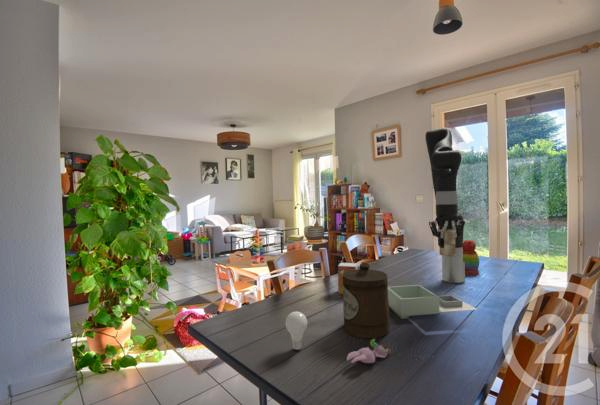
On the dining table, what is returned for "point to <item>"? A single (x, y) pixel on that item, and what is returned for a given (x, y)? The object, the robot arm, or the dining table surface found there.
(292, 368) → the dining table surface
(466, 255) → the stacking bear
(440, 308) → the socket
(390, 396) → the dining table surface
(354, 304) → the wooden container
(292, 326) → the lightbulb
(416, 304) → the bin
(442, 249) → the strut
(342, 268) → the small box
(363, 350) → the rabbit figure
